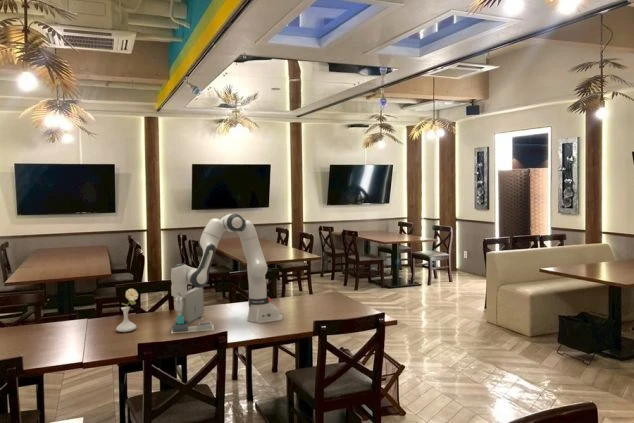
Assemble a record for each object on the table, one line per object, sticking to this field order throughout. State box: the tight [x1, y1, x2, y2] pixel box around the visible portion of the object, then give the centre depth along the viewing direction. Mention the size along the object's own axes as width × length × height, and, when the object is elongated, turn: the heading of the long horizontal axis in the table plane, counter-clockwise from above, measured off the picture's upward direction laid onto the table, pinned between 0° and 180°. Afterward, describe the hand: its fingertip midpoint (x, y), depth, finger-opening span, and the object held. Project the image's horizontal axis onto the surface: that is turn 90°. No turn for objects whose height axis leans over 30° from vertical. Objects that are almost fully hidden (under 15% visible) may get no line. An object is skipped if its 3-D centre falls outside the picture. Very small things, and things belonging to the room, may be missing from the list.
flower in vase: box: [115, 288, 139, 333], centre depth 292 cm, size 13×11×25 cm
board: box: [170, 324, 215, 334], centre depth 288 cm, size 24×11×2 cm, turn 103°
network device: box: [182, 286, 205, 324], centre depth 308 cm, size 26×9×20 cm, turn 168°
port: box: [171, 320, 189, 333], centre depth 287 cm, size 8×8×4 cm
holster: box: [197, 321, 213, 331], centre depth 290 cm, size 8×8×2 cm
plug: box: [176, 314, 184, 325], centre depth 287 cm, size 4×4×8 cm
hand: (180, 315), depth 286 cm, fingers closed
